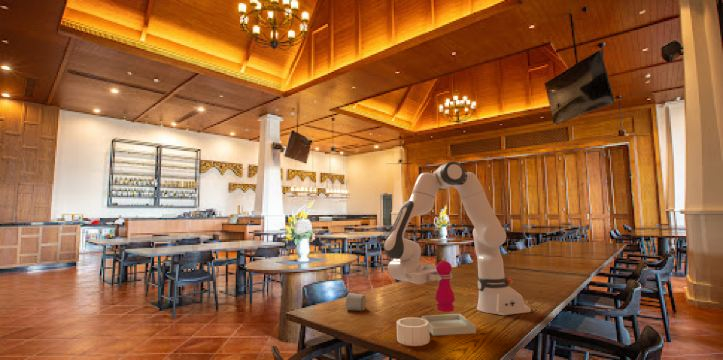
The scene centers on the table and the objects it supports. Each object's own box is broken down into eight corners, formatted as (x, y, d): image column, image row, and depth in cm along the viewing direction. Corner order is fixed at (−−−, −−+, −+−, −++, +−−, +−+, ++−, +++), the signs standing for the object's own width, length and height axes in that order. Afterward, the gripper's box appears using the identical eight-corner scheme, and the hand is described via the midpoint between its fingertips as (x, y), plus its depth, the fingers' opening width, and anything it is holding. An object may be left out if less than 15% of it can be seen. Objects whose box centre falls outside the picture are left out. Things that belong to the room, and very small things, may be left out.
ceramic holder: (424, 333, 125) (423, 316, 126) (433, 344, 114) (432, 326, 115) (395, 335, 124) (394, 318, 125) (400, 346, 113) (400, 328, 114)
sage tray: (460, 320, 140) (459, 313, 140) (476, 333, 124) (475, 325, 124) (421, 322, 139) (421, 315, 139) (433, 335, 123) (432, 328, 123)
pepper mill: (441, 313, 128) (439, 258, 130) (432, 308, 135) (430, 256, 137) (458, 311, 130) (456, 257, 132) (448, 306, 137) (446, 255, 139)
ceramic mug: (362, 312, 155) (362, 295, 156) (345, 311, 157) (345, 294, 158) (368, 307, 165) (368, 290, 166) (352, 306, 167) (352, 290, 168)
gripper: (401, 268, 137) (428, 272, 127) (433, 262, 150) (460, 266, 140) (402, 284, 136) (429, 289, 126) (434, 277, 149) (461, 281, 139)
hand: (446, 277), depth 133 cm, fingers closed on pepper mill, 5 cm apart
